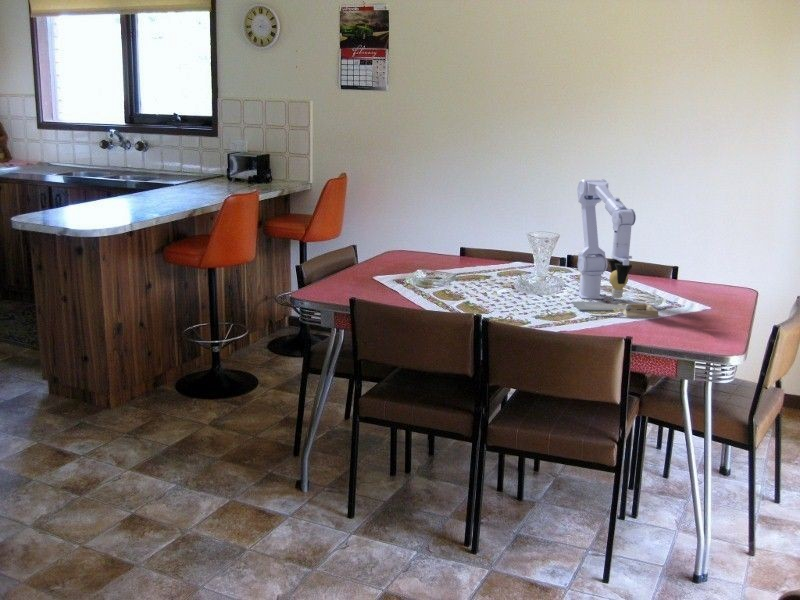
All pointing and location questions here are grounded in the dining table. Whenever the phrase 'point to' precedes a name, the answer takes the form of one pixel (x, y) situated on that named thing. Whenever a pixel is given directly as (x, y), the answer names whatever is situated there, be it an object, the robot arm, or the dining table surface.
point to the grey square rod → (609, 306)
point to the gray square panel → (582, 307)
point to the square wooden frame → (640, 311)
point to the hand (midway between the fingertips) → (618, 281)
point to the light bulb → (616, 285)
